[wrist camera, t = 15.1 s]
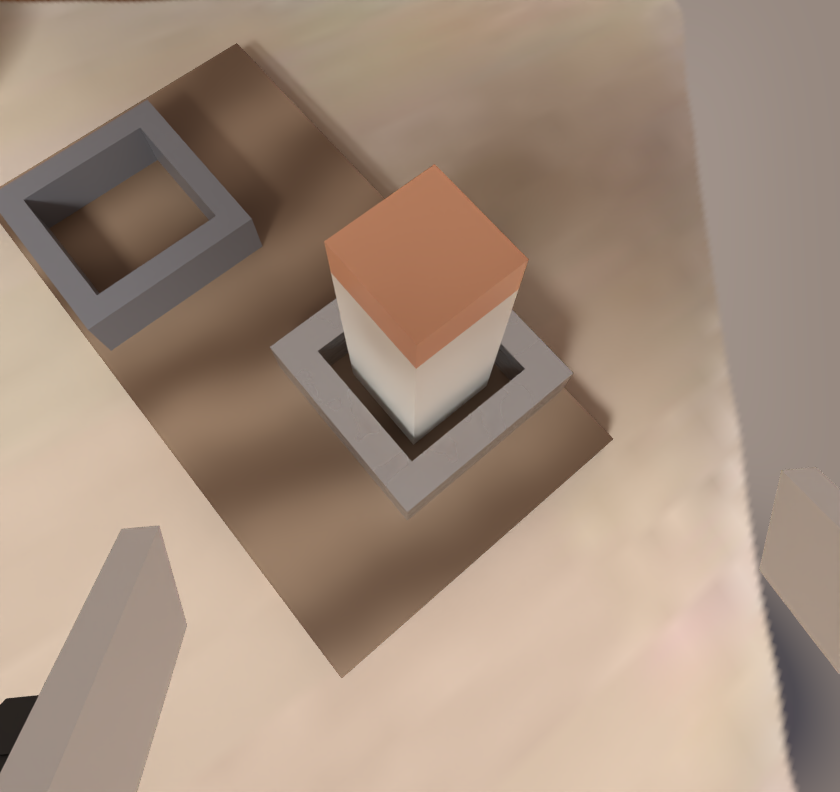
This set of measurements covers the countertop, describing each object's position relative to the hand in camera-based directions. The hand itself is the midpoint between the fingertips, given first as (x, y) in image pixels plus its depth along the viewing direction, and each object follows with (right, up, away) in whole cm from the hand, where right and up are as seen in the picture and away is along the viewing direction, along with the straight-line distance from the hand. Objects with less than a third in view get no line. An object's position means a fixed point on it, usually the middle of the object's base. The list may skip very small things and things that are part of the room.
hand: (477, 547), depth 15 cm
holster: (-15, +11, +20) cm, 28 cm away
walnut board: (-8, +7, +20) cm, 23 cm away
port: (-1, +4, +18) cm, 18 cm away
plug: (-1, +4, +18) cm, 18 cm away
